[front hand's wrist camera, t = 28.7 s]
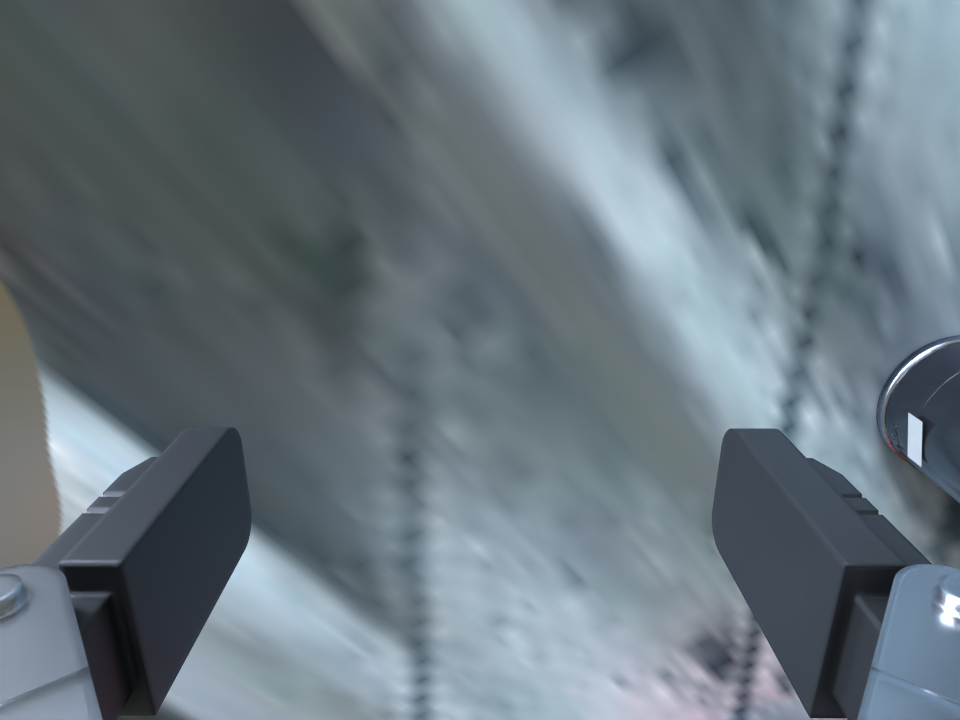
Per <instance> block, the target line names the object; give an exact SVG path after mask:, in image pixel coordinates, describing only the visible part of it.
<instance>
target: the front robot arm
mask: <svg viewBox="0 0 960 720" xmlns="http://www.w3.org/2000/svg"><path fill="white" fill-rule="evenodd" d="M877 425H878V429H879V432H880V434H881V436H882V438H883V440H884V442H885V443H886V444H887V446H888V447H889V448H890V449H891V450H892V451H894V452H895V453H896V454H897V455H899V456H900V457H901V458H902V459H904V460H905V461H907V462H908V463H910V464H911V465H912V466H913V467H915V468H916V469H918V470H919V471H921V472H922V473H923V474H924V475H926V476H927V477H928V478H929V479H930V480H932V481H933V482H934V483H935V484H937V485H938V486H939V487H940V488H942V489H943V490H944V491H945V492H947V493H948V494H949V495H950V496H951V497H953V498H954V499H955V500H956V501H958V502H959V503H960V335H958V336H951V337H946V338H943V339H939V340H937V341H934V342H932V343H929V344H927V345H925V346H923V347H922V348H920V349H918V350H917V351H915V352H914V353H912V354H911V355H910V356H908V357H907V358H906V359H905V360H904V361H903V362H902V363H900V364H899V366H898V367H897V368H896V369H895V370H894V371H893V373H892V374H891V375H890V377H889V378H888V380H887V381H886V383H885V385H884V387H883V389H882V391H881V394H880V397H879V400H878V405H877ZM712 527H713V535H714V539H715V543H716V546H717V549H718V551H719V553H720V554H721V556H722V558H723V560H724V562H725V564H726V565H727V567H728V569H729V571H730V573H731V575H732V576H733V578H734V580H735V582H736V584H737V586H738V587H739V589H740V591H741V593H742V595H743V596H744V598H745V600H746V602H747V604H748V606H749V607H750V609H751V611H752V613H753V615H754V617H755V618H756V620H757V622H758V624H759V626H760V628H761V629H762V631H763V633H764V635H765V637H766V638H767V640H768V642H769V644H770V646H771V648H772V649H773V651H774V653H775V655H776V657H777V659H778V660H779V662H780V664H781V666H782V668H783V670H784V671H785V673H786V675H787V677H788V679H789V681H790V682H791V684H792V686H793V688H794V690H795V691H796V693H797V695H798V697H799V699H800V701H801V702H802V704H803V706H804V708H805V710H806V712H807V713H808V715H809V717H810V718H847V719H848V720H960V569H958V568H954V567H949V566H944V565H936V564H931V563H930V562H929V561H928V560H927V559H926V558H925V557H924V556H923V555H922V554H921V553H920V552H919V551H918V550H917V549H916V548H915V547H914V546H913V545H912V544H911V543H910V542H909V541H908V540H907V539H906V538H905V537H904V536H903V535H902V534H901V533H900V532H899V531H898V530H897V529H896V528H895V527H894V526H893V525H892V524H891V523H890V522H889V521H888V520H887V519H886V518H885V517H884V516H883V515H879V514H878V510H877V509H876V508H875V507H874V506H873V505H872V504H871V503H870V502H869V501H868V500H867V499H866V498H862V494H861V493H860V492H859V491H858V490H857V489H856V488H855V487H854V486H853V485H852V484H851V483H850V482H849V481H848V480H847V479H846V478H845V477H844V476H843V475H842V474H840V473H838V472H836V471H834V470H833V469H831V468H829V467H827V466H825V465H824V464H822V463H820V462H818V461H817V460H815V459H813V458H806V457H805V456H804V455H803V454H802V453H801V452H800V451H799V450H798V449H797V448H796V447H795V446H794V445H793V444H792V443H791V442H790V440H789V439H788V438H787V437H786V436H785V435H784V434H783V433H782V432H781V431H780V430H778V429H729V430H728V431H727V432H726V433H725V435H724V438H723V442H722V447H721V454H720V461H719V468H718V475H717V482H716V489H715V496H714V503H713V511H712ZM250 530H251V505H250V498H249V491H248V484H247V477H246V470H245V463H244V456H243V449H242V442H241V438H240V435H239V433H238V431H237V430H236V429H235V428H186V429H184V430H183V431H182V432H181V433H180V434H179V435H178V436H177V438H176V439H175V440H174V441H173V442H172V443H171V444H170V445H169V446H168V447H167V448H166V449H165V450H164V451H163V452H162V453H161V455H160V456H159V457H151V458H149V459H147V460H146V461H144V462H142V463H140V464H139V465H137V466H135V467H133V468H131V469H130V470H128V471H126V472H124V473H123V474H121V475H120V476H119V477H118V478H117V479H116V480H115V481H114V482H113V483H112V484H111V485H110V486H109V487H108V488H107V489H106V490H105V491H104V492H103V497H98V498H97V499H96V500H95V501H94V503H93V504H92V505H91V506H90V507H89V508H88V509H87V513H83V514H82V515H81V516H80V517H79V518H78V519H77V520H76V521H75V522H74V523H73V524H72V525H71V526H70V527H69V528H68V529H67V530H66V531H65V532H64V533H63V534H62V535H61V536H60V537H59V538H58V539H57V540H56V541H55V542H54V543H53V544H52V545H51V546H50V547H49V548H48V549H47V550H46V551H45V552H44V553H43V554H42V555H41V556H40V557H39V558H38V559H37V560H36V561H35V562H34V563H33V564H24V565H16V566H11V567H6V568H2V569H0V720H117V718H118V716H119V715H156V713H157V711H158V710H159V708H160V706H161V704H162V702H163V700H164V699H165V697H166V695H167V693H168V691H169V689H170V687H171V686H172V684H173V682H174V680H175V678H176V676H177V675H178V673H179V671H180V669H181V667H182V665H183V663H184V662H185V660H186V658H187V656H188V654H189V652H190V650H191V649H192V647H193V645H194V643H195V641H196V639H197V638H198V636H199V634H200V632H201V630H202V628H203V626H204V625H205V623H206V621H207V619H208V617H209V615H210V613H211V612H212V610H213V608H214V606H215V604H216V602H217V601H218V599H219V597H220V595H221V593H222V591H223V589H224V588H225V586H226V584H227V582H228V580H229V578H230V577H231V575H232V573H233V571H234V569H235V567H236V565H237V564H238V562H239V560H240V558H241V556H242V554H243V552H244V551H245V549H246V546H247V543H248V540H249V536H250Z"/></svg>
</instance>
